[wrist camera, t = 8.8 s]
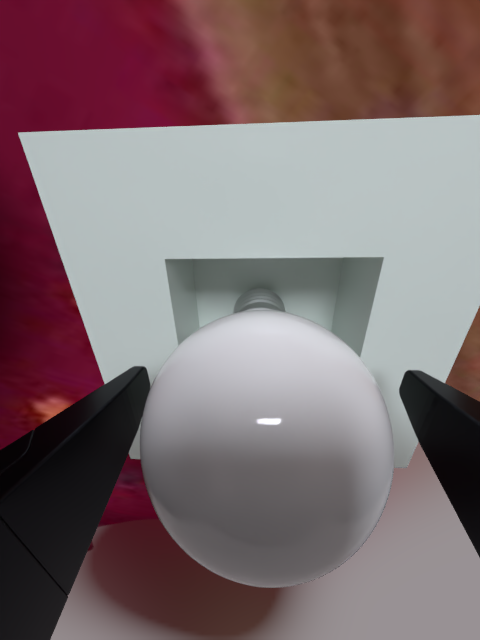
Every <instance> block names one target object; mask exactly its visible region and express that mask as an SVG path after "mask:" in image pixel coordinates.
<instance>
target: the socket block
mask: <svg viewBox="0 0 480 640" xmlns="http://www.w3.org/2000/svg"><path fill="white" fill-rule="evenodd" d="M18 134H19V137H20V140H21V143H22V146H23V149H24V152H25V154H26V157H27V160H28V163H29V166H30V169H31V172H32V175H33V178H34V180H35V183H36V186H37V189H38V192H39V195H40V198H41V201H42V204H43V206H44V209H45V212H46V215H47V218H48V221H49V224H50V227H51V230H52V233H53V235H54V238H55V241H56V244H57V247H58V250H59V253H60V256H61V259H62V261H63V264H64V267H65V270H66V273H67V276H68V279H69V282H70V285H71V288H72V290H73V293H74V296H75V299H76V302H77V305H78V308H79V311H80V314H81V316H82V319H83V322H84V325H85V328H86V331H87V334H88V337H89V340H90V343H91V345H92V348H93V351H94V354H95V357H96V360H97V363H98V366H99V369H100V371H101V374H102V377H103V380H104V383H105V384H106V383H108V382H109V381H111V380H112V379H114V378H116V377H117V376H119V375H120V374H122V373H124V372H125V371H127V370H128V369H130V368H131V367H133V366H145V367H146V368H147V372H148V376H149V380H150V388H151V386H152V383H153V381H154V379H155V377H156V375H157V374H158V372H159V370H160V368H161V367H162V365H163V364H164V362H165V361H166V360H167V358H168V357H169V356H170V354H171V353H172V352H173V351H174V350H175V349H176V348H177V346H178V345H179V344H180V343H182V342H183V341H184V340H185V339H186V338H187V337H188V336H190V335H191V334H192V333H193V332H195V331H196V330H198V329H199V328H201V327H203V326H204V325H206V324H208V323H210V322H212V321H214V320H216V319H218V318H221V317H224V316H226V315H230V314H233V312H234V306H235V303H236V301H237V300H238V298H239V297H240V296H241V295H242V294H244V293H245V292H247V291H249V290H252V289H257V288H262V289H267V290H270V291H272V292H274V293H276V294H277V295H278V296H279V297H280V298H281V300H282V301H283V303H284V307H285V311H286V312H287V313H291V314H295V315H298V316H301V317H304V318H307V319H309V320H311V321H314V322H316V323H318V324H320V325H321V326H323V327H325V328H326V329H328V330H330V331H331V332H333V333H334V334H335V335H337V336H338V337H339V338H340V339H342V340H343V341H344V342H345V343H346V344H347V345H348V346H350V347H351V348H352V349H353V351H354V352H355V353H356V354H357V355H358V356H359V357H360V358H361V360H362V361H363V362H364V364H365V365H366V366H367V368H368V369H369V371H370V372H371V374H372V375H373V377H374V379H375V381H376V382H377V384H378V386H379V388H380V390H381V393H382V395H383V398H384V400H385V403H386V406H387V409H388V412H389V416H390V420H391V425H392V431H393V438H394V468H407V466H408V464H409V461H410V459H411V457H412V455H413V453H414V450H415V448H416V446H417V444H418V442H419V441H418V439H417V437H416V434H415V432H414V430H413V427H412V425H411V422H410V420H409V417H408V415H407V412H406V410H405V407H404V405H403V402H402V400H401V397H400V394H399V387H400V385H401V382H402V379H403V376H404V373H405V372H406V371H407V370H420V371H423V372H425V373H426V374H428V375H430V376H432V377H434V378H436V379H438V380H440V381H441V382H443V383H445V381H446V379H447V377H448V375H449V373H450V370H451V368H452V366H453V364H454V361H455V359H456V357H457V355H458V353H459V350H460V348H461V346H462V344H463V341H464V339H465V337H466V335H467V333H468V330H469V328H470V326H471V324H472V321H473V319H474V317H475V315H476V313H477V310H478V308H479V306H480V115H470V116H444V117H417V118H391V119H364V120H338V121H312V122H285V123H259V124H232V125H206V126H179V127H153V128H127V129H100V130H74V131H47V132H21V133H18ZM141 421H142V419H141ZM140 429H141V422H140V426H139V429H138V431H137V434H136V436H135V439H134V441H133V444H132V446H131V448H130V451H129V455H130V458H131V459H140Z"/></svg>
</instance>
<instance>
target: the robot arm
mask: <svg viewBox="0 0 480 640" xmlns="http://www.w3.org/2000/svg"><path fill="white" fill-rule="evenodd" d="M149 391H150V380H149V376H148V372H147V368H146V367H145V366H133V367H131V368H130V369H128V370H127V371H125V372H124V373H122V374H120V375H119V376H117V377H116V378H114V379H112V380H111V381H109V382H108V383H106V384H105V385H103V386H101V387H100V388H98V389H97V390H95V391H94V392H92V393H90V394H89V395H87V396H86V397H84V398H82V399H81V400H79V401H78V402H76V403H75V404H73V405H71V406H70V407H68V408H67V409H65V410H64V411H62V412H60V413H59V414H57V415H56V416H54V417H52V418H51V419H49V420H48V421H46V422H45V423H43V424H41V425H40V426H38V427H37V428H35V431H34V430H32V431H30V432H29V433H27V434H26V435H24V436H22V437H21V438H19V439H18V440H16V441H14V442H13V443H11V444H10V445H8V446H6V447H5V448H3V449H1V450H0V640H50V639H51V636H52V634H53V632H54V629H55V627H56V624H57V622H58V619H59V617H60V615H61V612H62V610H63V608H64V605H65V603H66V601H67V598H68V596H67V595H69V593H70V591H71V588H72V586H73V584H74V581H75V579H76V576H77V574H78V572H79V569H80V567H81V564H82V562H83V560H84V558H85V555H86V553H87V550H88V548H89V546H90V543H91V541H92V539H93V536H94V534H95V531H96V529H97V527H98V524H99V522H100V520H101V517H102V515H103V512H104V510H105V508H106V505H107V503H108V501H109V498H110V496H111V493H112V491H113V489H114V486H115V484H116V482H117V479H118V477H119V474H120V472H121V470H122V467H123V465H124V463H125V460H126V458H127V455H128V453H129V451H130V448H131V446H132V444H133V441H134V439H135V436H136V434H137V431H138V429H139V426H140V422H141V419H142V415H143V411H144V406H145V403H146V399H147V396H148V393H149ZM399 394H400V397H401V400H402V402H403V405H404V407H405V410H406V412H407V415H408V417H409V420H410V422H411V425H412V427H413V430H414V432H415V434H416V437H417V439H418V441H419V443H420V445H421V447H422V449H423V450H424V452H425V454H426V456H427V458H428V460H429V462H430V464H431V466H432V467H433V470H434V471H435V473H436V475H437V477H438V479H439V481H440V483H441V485H442V487H443V489H444V490H445V492H446V494H447V496H448V498H449V500H450V502H451V504H452V505H453V508H454V509H455V511H456V513H457V515H458V517H459V519H460V521H461V523H462V525H463V527H464V528H465V530H466V532H467V534H468V536H469V538H470V540H471V542H472V544H473V546H474V547H475V549H476V551H477V553H478V555H479V557H480V402H479V401H477V400H475V399H473V398H472V397H470V396H468V395H466V394H464V393H462V392H460V391H458V390H456V389H455V388H453V387H451V386H449V385H447V384H445V383H443V382H441V381H440V380H438V379H436V378H434V377H432V376H430V375H428V374H426V373H425V372H423V371H420V370H407V371H406V372H405V373H404V376H403V379H402V382H401V385H400V387H399Z"/></svg>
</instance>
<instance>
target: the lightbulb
mask: <svg viewBox="0 0 480 640" xmlns="http://www.w3.org/2000/svg"><path fill="white" fill-rule="evenodd" d="M140 459H141V467H142V473H143V477H144V482H145V485H146V489H147V492H148V495H149V498H150V500H151V503H152V505H153V507H154V509H155V511H156V513H157V515H158V517H159V519H160V521H161V522H162V524H163V526H164V527H165V529H166V530H167V532H168V533H169V534H170V536H171V537H172V538H173V539H174V541H175V542H176V543H177V544H178V545H179V546H180V547H181V548H182V549H183V550H184V551H185V552H186V553H187V554H188V555H189V556H190V557H191V558H193V559H194V560H195V561H197V562H198V563H199V564H201V565H202V566H204V567H205V568H207V569H208V570H210V571H212V572H214V573H216V574H218V575H220V576H222V577H224V578H226V579H229V580H232V581H235V582H238V583H241V584H245V585H250V586H256V587H265V588H266V587H267V588H277V587H288V586H294V585H299V584H302V583H306V582H309V581H312V580H315V579H316V578H319V577H321V576H324V575H326V574H327V573H329V572H331V571H333V570H334V569H336V568H337V567H339V566H340V565H342V564H343V563H344V562H346V561H347V560H348V559H349V558H350V557H351V556H353V555H354V554H355V553H356V552H357V551H358V550H359V548H360V547H361V546H362V545H363V544H364V543H365V541H366V540H367V539H368V537H369V536H370V535H371V533H372V531H373V530H374V528H375V527H376V525H377V523H378V521H379V519H380V517H381V515H382V513H383V510H384V508H385V505H386V502H387V500H388V496H389V493H390V489H391V484H392V479H393V472H394V438H393V431H392V425H391V420H390V416H389V412H388V409H387V406H386V403H385V400H384V398H383V395H382V393H381V390H380V388H379V386H378V384H377V382H376V381H375V379H374V377H373V375H372V374H371V372H370V371H369V369H368V368H367V366H366V365H365V364H364V362H363V361H362V360H361V358H360V357H359V356H358V355H357V354H356V353H355V352H354V351H353V349H352V348H351V347H350V346H348V345H347V344H346V343H345V342H344V341H343V340H342V339H340V338H339V337H338V336H337V335H335V334H334V333H333V332H331V331H330V330H328V329H326V328H325V327H323V326H321V325H320V324H318V323H316V322H314V321H311V320H309V319H307V318H304V317H301V316H298V315H295V314H291V313H287V312H286V311H285V307H284V303H283V301H282V300H281V298H280V297H279V296H278V295H277V294H276V293H274V292H272V291H270V290H267V289H262V288H257V289H252V290H249V291H247V292H245V293H244V294H242V295H241V296H240V297H239V298H238V300H237V301H236V303H235V306H234V312H233V314H230V315H226V316H224V317H221V318H218V319H216V320H214V321H212V322H210V323H208V324H206V325H204V326H203V327H201V328H199V329H198V330H196V331H195V332H193V333H192V334H191V335H190V336H188V337H187V338H186V339H185V340H184V341H183V342H182V343H180V344H179V345H178V346H177V348H176V349H175V350H174V351H173V352H172V353H171V354H170V356H169V357H168V358H167V360H166V361H165V362H164V364H163V365H162V367H161V368H160V370H159V372H158V374H157V375H156V377H155V379H154V381H153V383H152V386H151V388H150V391H149V393H148V396H147V399H146V403H145V406H144V411H143V415H142V421H141V429H140Z"/></svg>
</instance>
